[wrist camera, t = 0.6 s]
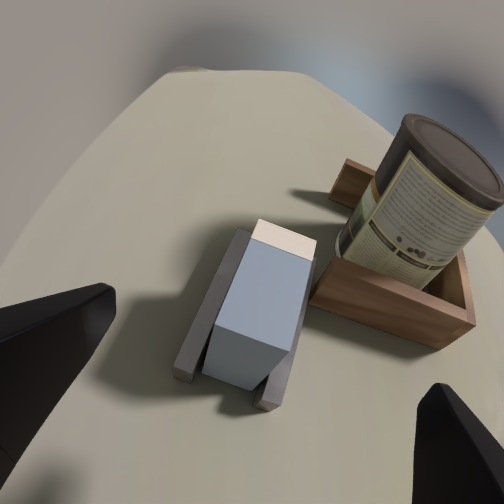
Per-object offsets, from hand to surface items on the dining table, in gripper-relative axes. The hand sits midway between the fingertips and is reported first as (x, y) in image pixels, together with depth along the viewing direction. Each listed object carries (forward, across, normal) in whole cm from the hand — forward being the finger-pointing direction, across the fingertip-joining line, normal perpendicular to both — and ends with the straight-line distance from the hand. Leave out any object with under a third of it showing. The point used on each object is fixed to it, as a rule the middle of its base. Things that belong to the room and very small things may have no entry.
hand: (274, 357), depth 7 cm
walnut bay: (+23, -9, +5) cm, 25 cm away
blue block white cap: (+11, +2, +9) cm, 15 cm away
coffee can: (+23, -9, +6) cm, 25 cm away
